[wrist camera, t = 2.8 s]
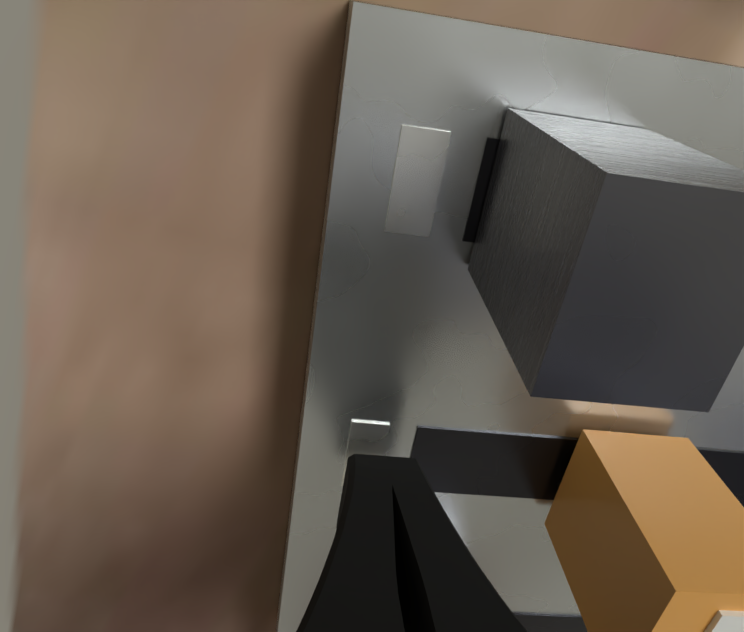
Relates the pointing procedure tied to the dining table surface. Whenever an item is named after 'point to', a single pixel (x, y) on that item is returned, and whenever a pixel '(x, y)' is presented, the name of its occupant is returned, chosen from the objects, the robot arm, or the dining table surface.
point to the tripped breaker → (648, 536)
